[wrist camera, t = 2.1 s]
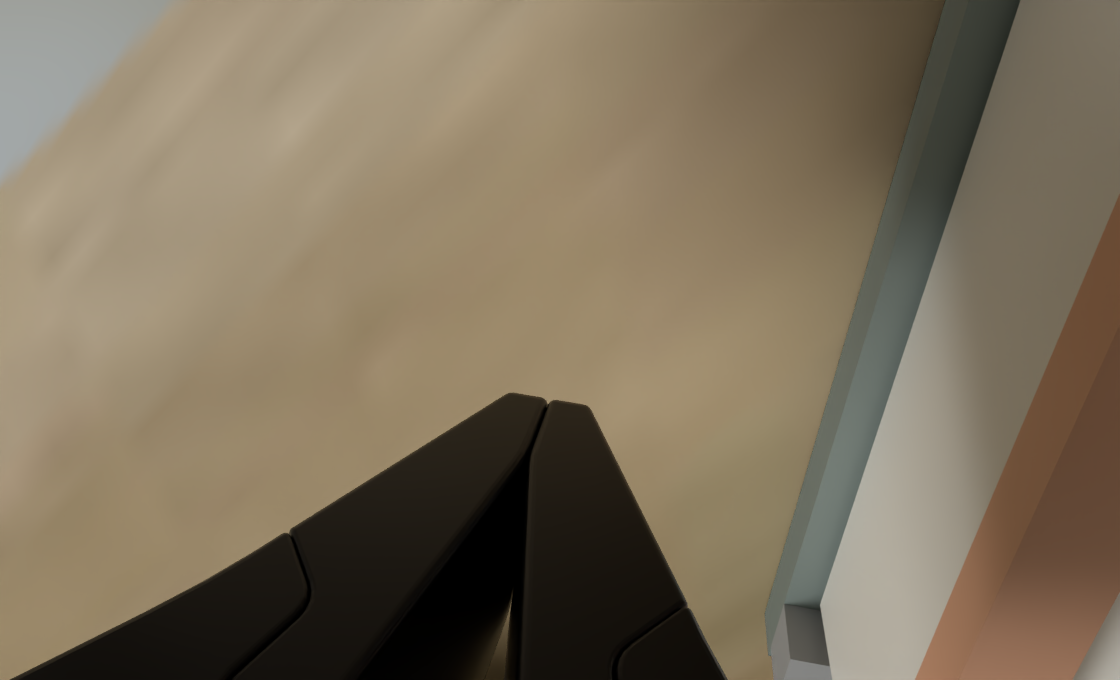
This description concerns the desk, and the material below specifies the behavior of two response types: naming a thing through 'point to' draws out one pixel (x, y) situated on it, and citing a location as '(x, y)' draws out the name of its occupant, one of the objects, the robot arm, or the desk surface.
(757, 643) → the desk surface
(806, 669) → the housing base
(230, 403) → the desk surface
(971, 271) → the housing
